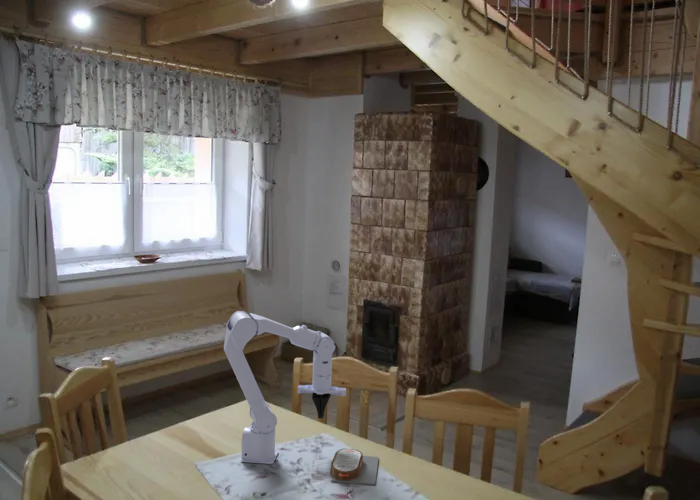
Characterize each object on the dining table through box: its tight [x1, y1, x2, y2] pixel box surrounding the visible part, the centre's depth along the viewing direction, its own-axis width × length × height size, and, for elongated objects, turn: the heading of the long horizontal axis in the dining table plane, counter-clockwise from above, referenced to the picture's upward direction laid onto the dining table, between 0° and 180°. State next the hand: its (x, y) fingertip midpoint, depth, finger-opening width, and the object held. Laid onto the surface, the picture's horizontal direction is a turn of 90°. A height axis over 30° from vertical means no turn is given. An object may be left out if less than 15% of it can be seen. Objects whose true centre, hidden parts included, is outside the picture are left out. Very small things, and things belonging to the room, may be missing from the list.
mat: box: [330, 455, 380, 486], centre depth 171 cm, size 12×16×1 cm
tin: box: [329, 448, 364, 481], centre depth 170 cm, size 15×3×8 cm
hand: (321, 417), depth 182 cm, fingers closed
